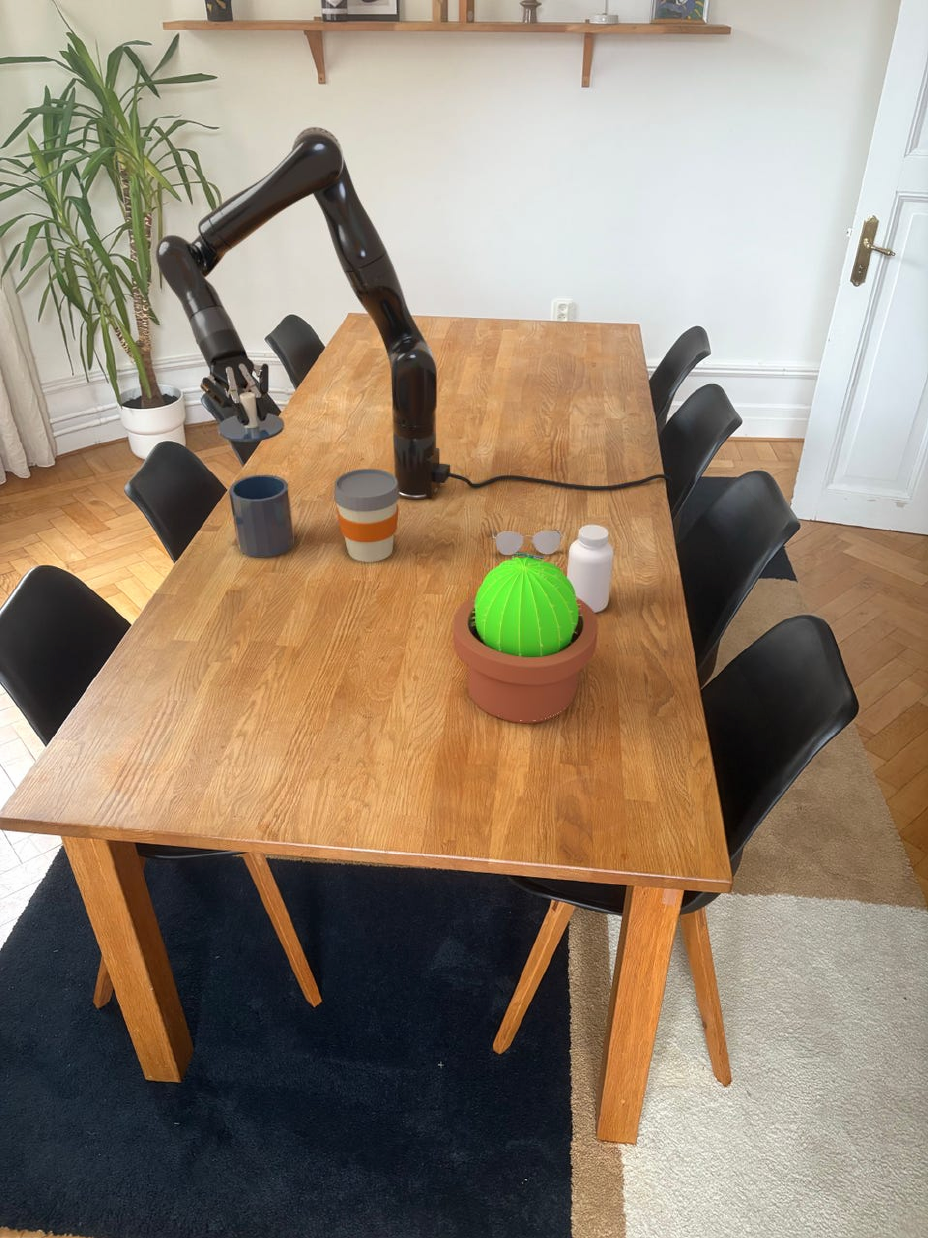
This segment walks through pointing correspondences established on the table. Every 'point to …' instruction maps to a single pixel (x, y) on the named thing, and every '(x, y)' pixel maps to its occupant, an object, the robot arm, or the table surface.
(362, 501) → the reusable coffee cup
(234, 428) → the lid
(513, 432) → the table surface
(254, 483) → the blue handleless cup
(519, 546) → the sunglasses
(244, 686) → the table surface
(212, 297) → the robot arm
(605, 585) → the pill bottle
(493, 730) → the table surface
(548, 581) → the potted cactus
